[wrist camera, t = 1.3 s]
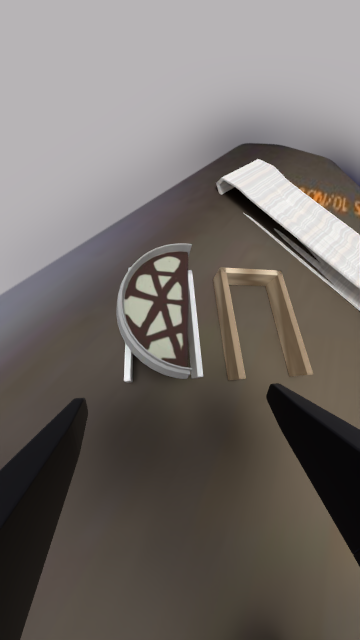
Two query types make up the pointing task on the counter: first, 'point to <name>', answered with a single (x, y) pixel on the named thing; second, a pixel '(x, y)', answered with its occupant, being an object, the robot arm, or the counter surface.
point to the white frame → (192, 339)
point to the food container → (157, 310)
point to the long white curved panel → (303, 225)
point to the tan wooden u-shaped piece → (281, 313)
